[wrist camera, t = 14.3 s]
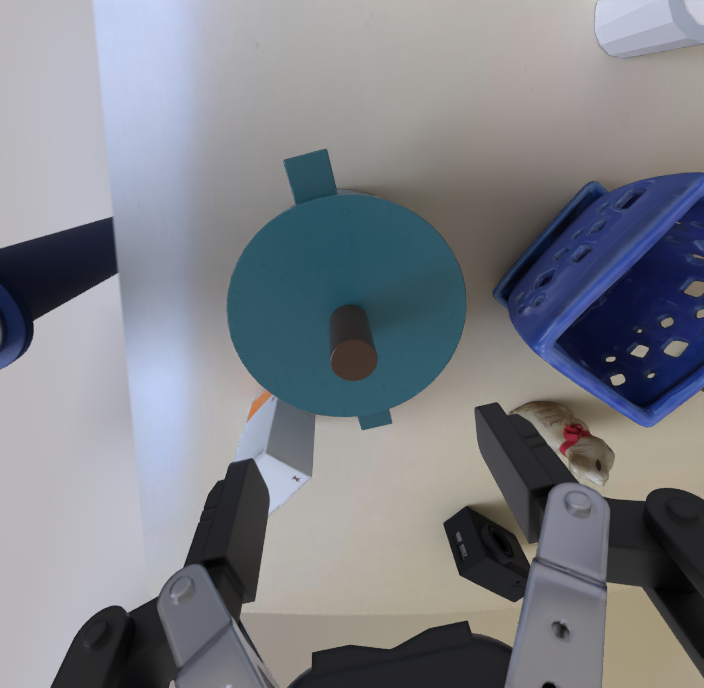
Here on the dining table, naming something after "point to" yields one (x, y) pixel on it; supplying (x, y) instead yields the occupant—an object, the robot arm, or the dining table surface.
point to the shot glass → (648, 25)
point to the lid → (346, 305)
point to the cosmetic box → (278, 445)
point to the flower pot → (618, 293)
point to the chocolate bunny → (570, 440)
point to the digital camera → (487, 554)
